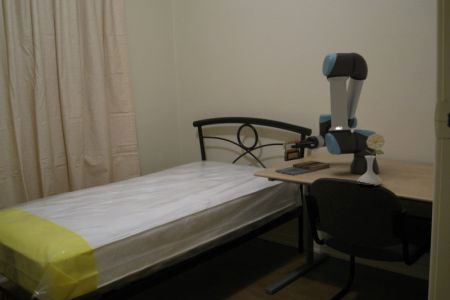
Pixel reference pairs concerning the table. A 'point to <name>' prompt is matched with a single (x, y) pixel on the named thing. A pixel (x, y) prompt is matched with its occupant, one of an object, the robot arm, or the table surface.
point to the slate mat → (292, 171)
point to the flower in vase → (375, 143)
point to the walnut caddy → (312, 165)
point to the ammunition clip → (291, 151)
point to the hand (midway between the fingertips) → (284, 147)
